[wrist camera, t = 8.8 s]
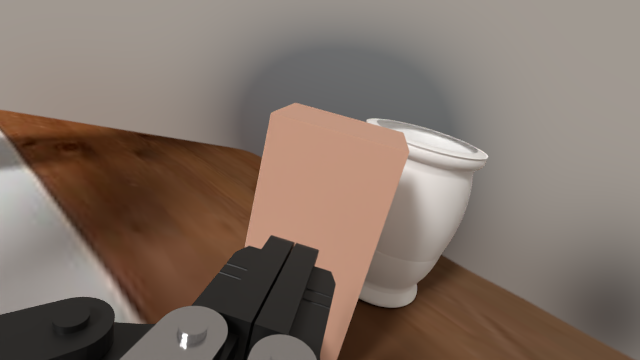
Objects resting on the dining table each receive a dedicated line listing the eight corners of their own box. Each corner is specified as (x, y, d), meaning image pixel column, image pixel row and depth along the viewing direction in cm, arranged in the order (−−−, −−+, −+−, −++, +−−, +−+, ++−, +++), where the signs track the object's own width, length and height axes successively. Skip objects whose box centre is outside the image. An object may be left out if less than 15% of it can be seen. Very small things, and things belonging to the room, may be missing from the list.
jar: (412, 339, 28) (488, 167, 23) (303, 280, 31) (347, 120, 26) (433, 278, 37) (490, 147, 32) (347, 238, 41) (386, 114, 36)
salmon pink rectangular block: (331, 376, 21) (409, 151, 16) (226, 340, 22) (271, 112, 17) (340, 319, 26) (403, 132, 21) (254, 291, 26) (295, 102, 21)
